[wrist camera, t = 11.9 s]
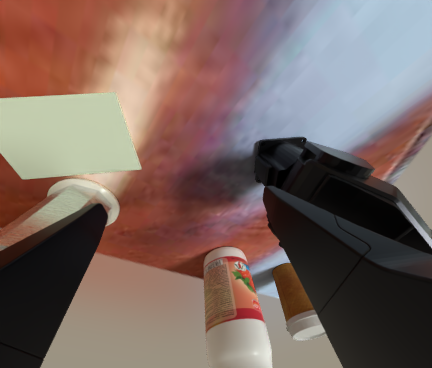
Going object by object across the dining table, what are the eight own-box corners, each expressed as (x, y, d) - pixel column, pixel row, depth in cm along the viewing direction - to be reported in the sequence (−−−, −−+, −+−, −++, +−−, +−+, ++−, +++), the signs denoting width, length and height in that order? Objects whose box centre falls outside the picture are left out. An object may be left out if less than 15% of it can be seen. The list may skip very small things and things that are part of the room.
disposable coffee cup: (307, 269, 40) (344, 329, 30) (275, 283, 43) (299, 344, 32) (294, 253, 36) (333, 318, 26) (259, 270, 38) (282, 336, 28)
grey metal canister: (87, 178, 20) (-12, 257, 11) (122, 214, 24) (71, 297, 14) (42, 196, 21) (-89, 284, 11) (83, 228, 25) (10, 316, 15)
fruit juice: (201, 247, 31) (214, 753, 7) (246, 242, 32) (391, 691, 8) (204, 272, 36) (218, 624, 12) (243, 267, 37) (328, 592, 13)
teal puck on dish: (105, 174, 21) (91, 187, 18) (128, 222, 26) (120, 237, 23) (35, 181, 20) (10, 194, 18) (72, 228, 25) (57, 244, 22)
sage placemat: (116, 92, 16) (114, 92, 16) (141, 168, 21) (140, 169, 21) (-39, 100, 15) (-43, 100, 15) (24, 178, 20) (22, 179, 20)
